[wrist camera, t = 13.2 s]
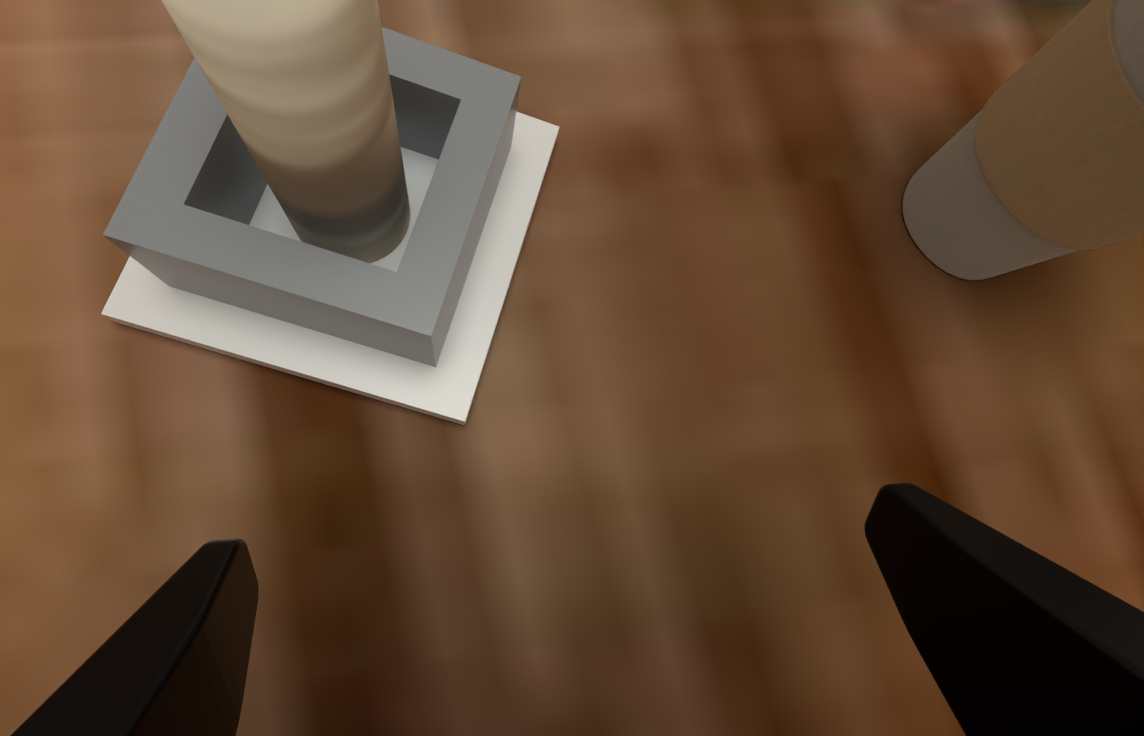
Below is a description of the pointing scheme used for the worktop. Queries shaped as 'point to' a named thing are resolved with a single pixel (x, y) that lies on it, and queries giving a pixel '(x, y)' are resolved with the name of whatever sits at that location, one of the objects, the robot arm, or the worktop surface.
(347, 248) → the peg
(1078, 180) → the coffee cup
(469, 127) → the socket
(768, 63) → the worktop surface
